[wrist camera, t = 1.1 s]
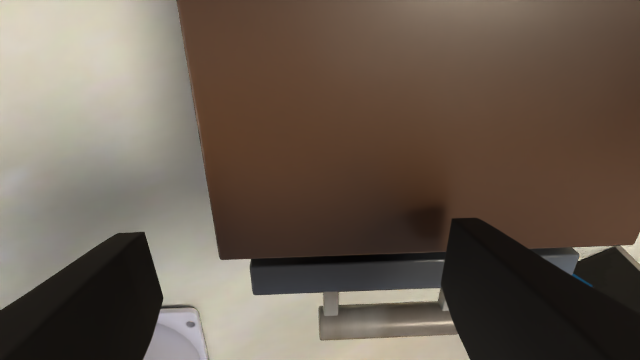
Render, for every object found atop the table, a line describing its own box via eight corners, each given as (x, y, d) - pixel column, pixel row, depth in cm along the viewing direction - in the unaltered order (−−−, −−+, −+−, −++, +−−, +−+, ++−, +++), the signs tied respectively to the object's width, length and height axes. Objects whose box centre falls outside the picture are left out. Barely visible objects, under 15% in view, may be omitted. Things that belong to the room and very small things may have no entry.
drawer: (463, 263, 21) (531, 378, 15) (275, 270, 20) (264, 392, 14) (552, -141, 13) (785, -259, 6) (241, -142, 12) (183, -270, 6)
